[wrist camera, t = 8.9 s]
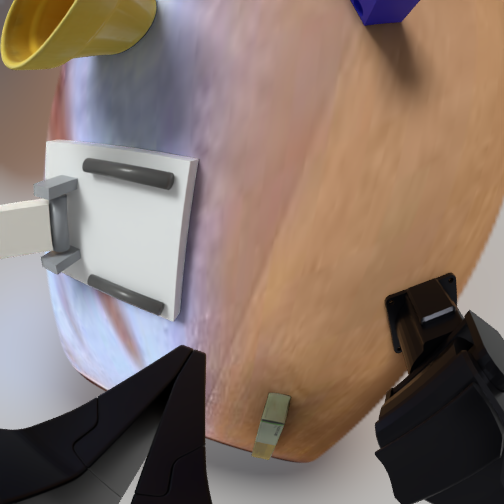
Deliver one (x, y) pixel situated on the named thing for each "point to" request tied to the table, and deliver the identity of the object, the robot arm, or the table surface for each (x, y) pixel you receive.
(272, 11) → the table surface
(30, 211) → the lever
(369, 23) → the cable clip
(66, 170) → the white base plate
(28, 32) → the plant pot
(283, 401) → the medication box
